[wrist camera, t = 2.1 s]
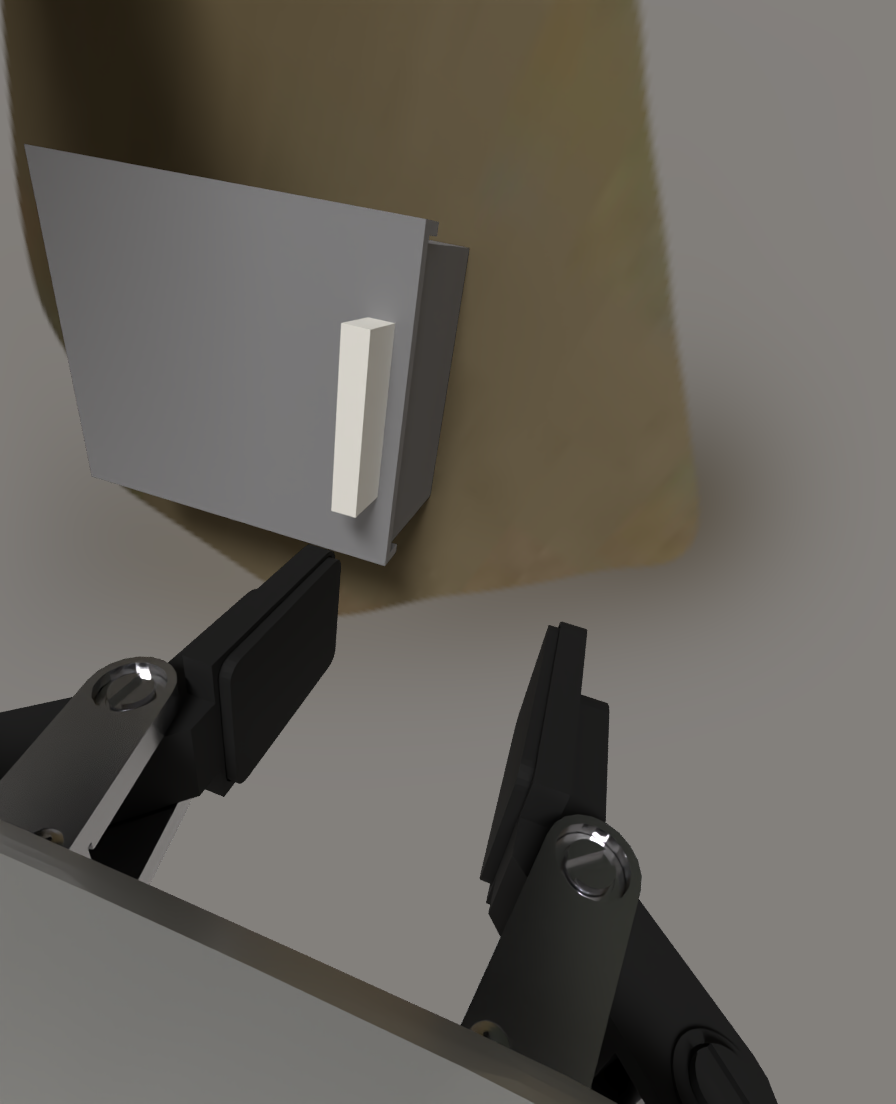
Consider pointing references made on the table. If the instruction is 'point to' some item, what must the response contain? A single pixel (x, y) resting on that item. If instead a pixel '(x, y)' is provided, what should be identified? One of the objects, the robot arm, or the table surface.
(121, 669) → the robot arm
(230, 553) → the table surface
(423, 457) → the base
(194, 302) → the lid
